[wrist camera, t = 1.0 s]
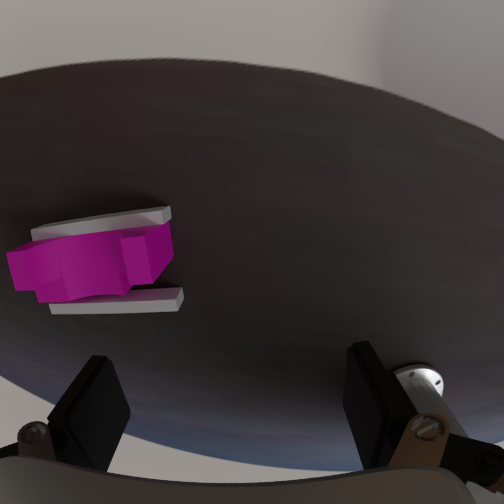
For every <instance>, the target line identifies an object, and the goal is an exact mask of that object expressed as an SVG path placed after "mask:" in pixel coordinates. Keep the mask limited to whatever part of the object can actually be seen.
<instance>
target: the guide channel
mask: <svg viewBox="0 0 504 504" xmlns="http://www.w3.org/2000/svg"><path fill="white" fill-rule="evenodd" d="M171 218H172V217H171V210H170V206H163V207H155V208H147V209H140V210H132V211H125V212H118V213H111V214H104V215H98V216H91V217H85V218H79V219H73V220H67V221H61V222H55V223H49V224H45V225H42V226H39V227H37V228H34V229H32V230H31V235H32V240H33V241H38V240H44V239H51V238H58V237H65V236H72V235H79V234H87V233H94V232H102V231H110V230H118V229H126V228H134V227H142V226H151V225H160V224H164V223H166V222H167V221H168V220H170V219H171ZM183 299H184V295H183V289H182V287H177V288H161V289H145V290H129V291H128V292H127V293H126V295H125V296H122V295H114V294H104V295H94V296H88V297H83V298H79V299H75V300H72V301H69V302H51V303H49V307H50V310H51V313H52V314H111V313H144V312H168V311H178V310H179V308H180V306H181V304H182V301H183Z"/></svg>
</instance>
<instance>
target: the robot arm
mask: <svg viewBox="0 0 504 504" xmlns="http://www.w3.org/2000/svg"><path fill="white" fill-rule="evenodd" d="M442 392H443V380H442V377H441V376H440V374H439V373H438V371H437V370H436V369H435V368H433V367H431V366H429V365H424V364H416V365H410V366H406V367H403V368H400V369H398V370H396V371H394V372H393V371H391V370H390V371H386V370H385V368H384V366H383V364H382V363H381V361H380V359H379V358H378V356H377V354H376V353H375V351H374V349H373V348H372V346H371V344H370V343H369V341H361V342H354V343H353V344H352V347H348V349H347V362H346V374H345V386H344V396H343V407H344V410H345V413H346V416H347V419H348V422H349V425H350V428H351V431H352V434H353V438H354V441H355V444H356V447H357V450H358V453H359V456H360V459H361V462H362V465H363V469H364V470H362V471H355V472H350V473H345V474H338V475H331V476H324V477H316V478H307V479H298V480H288V481H275V482H259V483H198V482H181V481H168V480H158V479H149V478H141V477H133V476H127V475H120V474H115V473H109V472H107V470H108V467H109V465H110V462H111V460H112V458H113V455H114V453H115V450H116V448H117V446H118V444H119V441H120V439H121V436H122V434H123V432H124V430H125V427H126V425H127V423H128V420H129V418H130V408H129V405H128V403H127V400H126V398H125V395H124V393H123V390H122V388H121V385H120V382H119V380H118V377H117V374H116V371H115V369H114V366H113V363H112V361H111V360H110V359H108V358H107V356H98V355H93V356H92V357H91V358H90V359H89V360H88V362H87V363H86V364H85V366H84V367H83V368H82V370H81V371H80V373H79V374H78V375H77V377H76V378H75V379H74V381H73V382H72V383H71V385H70V386H69V388H68V389H67V390H66V392H65V393H64V394H63V396H62V397H61V399H60V400H59V401H58V403H57V404H56V406H55V407H54V409H53V410H52V411H51V413H50V414H49V416H48V417H47V419H48V421H49V423H48V424H47V425H46V424H45V423H43V422H40V421H35V422H30V423H28V424H26V425H24V426H23V427H22V428H21V429H20V430H19V432H18V436H17V440H18V442H16V443H13V444H11V445H8V446H5V447H2V448H0V504H504V449H503V448H501V447H500V446H497V445H494V444H490V443H486V442H482V441H478V440H474V439H470V438H469V436H468V435H467V433H466V432H465V430H464V429H463V427H462V426H461V424H460V423H459V421H458V420H457V418H456V417H455V415H454V414H453V413H452V411H451V410H450V408H449V407H448V405H447V404H446V402H445V401H444V400H443V398H442V397H441V395H442Z"/></svg>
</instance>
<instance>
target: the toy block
mask: <svg viewBox="0 0 504 504" xmlns="http://www.w3.org/2000/svg"><path fill="white" fill-rule="evenodd" d="M6 255H7V259H8V263H9V267H10V271H11V275H12V279H13V282H14V286H15V289H16V291H24V290H35V292H36V295H37V298H38V302H39V303H40V302H69V301H72V300H75V299H79V298H83V297H88V296H94V295H104V294H114V295H122V296H125V295H126V293H127V292H128V291H129V290H130V289H131V288H132V287H133V286H134V285H139V284H153V283H154V282H155V280H156V279H157V278H158V276H159V275H160V274H161V273H162V271H163V270H164V269H165V267H166V266H167V265H168V264H169V262H170V261H171V260H172V258H173V257H174V252H173V246H172V239H171V232H170V225H169V220H168V221H167V222H166V223H164V224H160V225H151V226H142V227H134V228H126V229H118V230H110V231H102V232H94V233H87V234H79V235H72V236H65V237H58V238H51V239H44V240H38V241H31V242H29V243H27V244H25V245H22V246H20V247H18V248H16V249H14V250H12V251H9V252H7V253H6Z"/></svg>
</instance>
